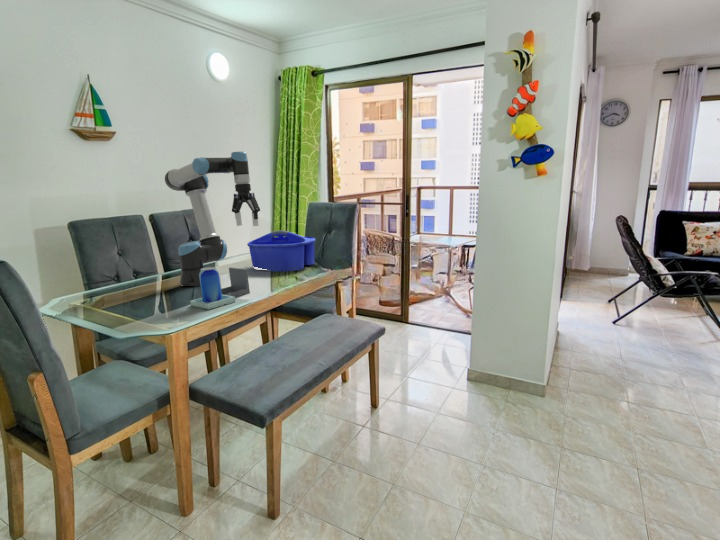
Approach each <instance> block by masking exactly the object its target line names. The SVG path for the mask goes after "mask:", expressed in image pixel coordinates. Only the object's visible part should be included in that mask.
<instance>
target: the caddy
mask: <svg viewBox="0 0 720 540" xmlns="http://www.w3.org/2000/svg"><path fill="white" fill-rule="evenodd" d="M315 242H316V238H315V237H313V236H303V235H299V234H297V233H294V232H291V231H287V230H280V229H279V230H274V231H271V232H269V233H266V234H264V235H262V236H260V237H258V238H255V239H253V240H251V241H249V242H248V243H247V245H246V246H247V247H248V248H249V254H250V259H251V264H252V267H253V266H254V267H258V268H262V269H267V270H271V271H270V272H293V271H294V272H295V271H302V270H304V267H305V266H313V265H315Z"/></svg>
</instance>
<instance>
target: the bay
mask: <svg viewBox="0 0 720 540" xmlns="http://www.w3.org/2000/svg"><path fill="white" fill-rule="evenodd" d="M228 272H229V273H228V275H229V280H230V286H226V287H223V288H221V294H223V295H226V294H228V296H234V297H235V298H238V297H241V296H245V295H247V294H251V291H250V284H249V276H248V275H249V274H248V269H247V268H239V267H228Z"/></svg>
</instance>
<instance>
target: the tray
mask: <svg viewBox="0 0 720 540" xmlns="http://www.w3.org/2000/svg"><path fill="white" fill-rule="evenodd" d="M189 302H190V307H193V308H196V309H197V308H198V309H200V310H201V309H202V310H205V309H207V310H206V311H210V310H209V309H211V310H213V309H212V308H214V307H217V306H221V305H224V304H227V305H230V304H229V303H231V304H234V303H236V297H234V296H229V294H228V295H227V294H222V300H220V301H216V302H213V303H209V304H207V303H204V302H203V299H202V297H200V298H195V299H192V300H190V301H189ZM233 302H234V303H233ZM224 306H225V305H224ZM221 307H222V306H221ZM217 308H218V307H217ZM214 309H215V308H214Z"/></svg>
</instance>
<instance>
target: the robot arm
mask: <svg viewBox="0 0 720 540" xmlns="http://www.w3.org/2000/svg"><path fill="white" fill-rule="evenodd" d="M248 160H249V159H248V156H247V152H246V151H233V152H231V153H230V156H229V157H196V158H194V159H193V161H192V162H191V163H189V164H187V165H184V166H183V167H181V168H174V169H171V170H169V171H167V172H166V173H165V175H164V182H165V184H166V185H165V186H167V187H168V188H169V189H171V190H173V191H178V192H182V191H184V193H185V195H186V196H187V197H189V200H190V204H191V207H192V211H193V214H194V218H195V222H196V224H197V228H198V232H199V236H200V238H199V240H193V241H188V242H184V243H182V244H180V245H179V246H178V248H177V249H178V252H177V253H178V259H179V263H180V271H181V274H180V279H179V285H180V284H181V285H183V286H194V287H198V286H199V287H201V285H200V279H199V273H200V271H201V270H200V269H202V268H204V264H207V263H213V262H218V261H221V260H224V259H225V258H226V256H227V254H228V245H227V242H226V241H225V240H224V239H222V238H221V236H220V235H219V234H217V232H216V229H215V228H216V227H215V225H214V221H213V218H212V214H211V209H210V207H209V204H208V199H207V197H206V193H207V190H208V187H209V179H208V176H207V175H208V174H230V173H233V179H234V189H235V192H236V193H234V194H233V201H232V206H231V207H232V208H231V212H232V213H234V217H235V220H236V221H235V223H236V226H237V227H239V226H240V227H241V226H243V223H242V214H241V209H242V207H243V204H244V203H246V204H247V205H248V208H249V209H250V210H251V217H252V218H251V219H252V226H253V227H257V226H259V216H258V215H259V214H258V213H259V212H261V209H260V206H259V204H258V200H257V199H256V197H255V192H251V191H252V187H251V179H250V170H249V163H248V162H249V161H248Z"/></svg>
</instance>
